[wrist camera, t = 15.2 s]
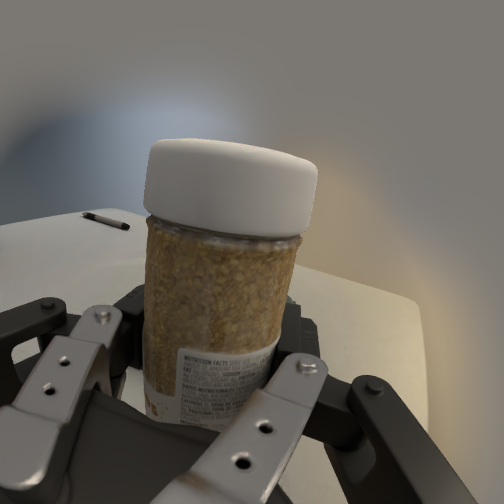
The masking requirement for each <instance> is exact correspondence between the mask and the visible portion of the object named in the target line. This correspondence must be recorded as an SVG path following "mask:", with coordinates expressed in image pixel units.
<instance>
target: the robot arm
mask: <svg viewBox="0 0 504 504" xmlns="http://www.w3.org/2000/svg"><path fill="white" fill-rule="evenodd" d="M144 289H145V284H143V285H140V286H137V287H136V288H135V289H133V290H132V291H131V292H129V293H128V294H127V295H126V297H125V296H124V297H123V298H122V299H120V300H119V301H118V302H117V303H115V304H114V305H113V306H109V305H96V306H92V307H90V308H88V309H87V310H86V311H85V312H84V313H83V315H82V316H81V315H74V314H68V313H67V311H66V304H65V302H64V301H63V300H61V299H59V298H54V297H47V298H42V299H38V300H36V301H33V302H30V303H27V304H24V305H21V306H18V307H16V308H13V309H10V310H7V311H4V312H2V313H0V504H293V502H292V501H291V500H290V499H289V497H288V496H287V495H286V494H285V492H284V491H283V490H282V488H281V487H280V486H279V484H278V481H279V479H280V478H281V476H282V474H283V472H284V470H285V468H286V466H287V464H288V462H289V460H290V458H291V456H292V454H293V452H294V450H295V448H296V446H297V444H298V442H299V440H300V438H301V435H305V436H307V437H310V438H313V439H315V440H318V441H321V442H323V444H324V448H325V451H326V453H327V455H328V458H329V460H330V462H331V464H332V467H333V469H334V471H335V474H336V476H337V478H338V481H339V483H340V485H341V487H342V490H343V492H344V494H345V497H346V499H347V501H348V503H349V504H478V503H477V502H476V500H475V499H474V497H473V496H472V494H471V493H470V492H469V490H468V489H467V487H466V486H465V485H464V483H463V482H462V480H461V479H460V478H459V476H458V475H457V473H456V472H455V471H454V469H453V468H452V467H451V465H450V464H449V462H448V461H447V460H446V458H445V457H444V456H443V454H442V453H441V451H440V450H439V449H438V447H437V446H436V445H435V443H434V442H433V441H432V440H431V438H430V437H429V435H428V434H427V433H426V431H425V430H424V429H423V427H422V426H421V425H420V423H419V422H418V421H417V419H416V418H415V417H414V415H413V414H412V413H411V411H410V410H409V409H408V407H407V406H406V405H405V403H404V402H403V401H402V400H401V398H400V397H399V396H398V394H397V393H396V392H395V390H394V389H393V388H392V387H391V385H390V384H389V383H387V382H386V381H385V380H383V379H381V378H379V377H376V376H371V375H362V376H358V377H356V378H355V379H354V380H353V382H352V384H349V383H346V382H343V381H340V380H338V379H336V378H334V377H332V376H330V375H329V374H328V367H327V365H326V363H325V362H324V361H323V360H321V359H320V350H319V341H318V335H317V334H318V332H317V326H316V325H315V323H314V322H313V321H312V320H311V319H308V318H303V317H301V306H300V305H297V304H292V303H287V302H286V303H285V309H284V313H283V317H282V323H281V334H280V338H279V341H278V345H277V349H276V353H275V357H274V361H273V365H272V369H271V372H270V376H269V380H268V384H267V385H266V387H265V388H264V389H263V390H262V389H260V388H257V389H256V390H255V391H254V392H253V393H252V395H251V396H250V397H249V398H248V400H247V401H246V402H245V404H244V405H243V406H242V407H241V409H240V410H239V411H238V412H237V414H236V415H235V416H234V417H233V419H232V420H231V421H230V422H229V424H228V425H227V426H226V427H225V429H224V430H223V431H222V432H218V431H214V430H210V429H206V428H202V427H198V426H192V425H181V424H172V423H164V422H158V421H154V420H152V419H150V418H149V417H147V416H146V415H144V414H142V413H141V412H139V411H138V410H136V409H135V408H133V407H131V406H130V405H128V404H127V403H125V402H124V401H121V396H122V392H123V388H124V384H125V381H126V369H127V368H128V366H130V367H133V368H136V369H139V370H140V369H141V367H142V366H143V355H142V332H143V325H144V320H145V319H144V299H145V296H144ZM35 337H37V340H38V344H39V348H40V353H38V354H36V355H34V356H32V357H29V358H27V359H25V360H23V361H21V362H19V363H16V364H14V363H13V360H12V357H11V353H12V350H13V348H14V347H15V346H16V345H18V344H21V343H23V342H25V341H28V340H30V339H32V338H35ZM370 443H371V444H370Z"/></svg>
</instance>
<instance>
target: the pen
mask: <svg viewBox="0 0 504 504" xmlns="http://www.w3.org/2000/svg"><path fill="white" fill-rule="evenodd" d="M82 214H83V215H84V217H87V218H90V219H93V220H97V221H100V222H103V223H106V224H109V225H113V226H116V227H119V228H122V229H129V228H130V226H129V225H128V224H126V223H123V222H119V221H116V220H112V219H108V218H105V217H101V216H98V215H95V214H91V213H88V212H85V213H82Z"/></svg>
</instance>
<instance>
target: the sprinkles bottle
mask: <svg viewBox="0 0 504 504" xmlns="http://www.w3.org/2000/svg"><path fill="white" fill-rule="evenodd" d="M317 177H318V171H317V168H316V166H315V165H314V164H313V163H311V162H310V161H308V160H305V159H302V158H298V157H295V156H292V155H290V154H287V153H284V152H280V151H276V150H272V149H267V148H262V147H256V146H251V145H246V144H240V143H233V142H225V141H217V140H207V139H191V138H184V139H162V140H159V141H157V142H155V143H154V144H153V146H152V147H151V150H150V154H149V160H148V167H147V173H146V181H145V191H144V202H143V203H144V207H145V209H146V210H147V211H148V212H149V213H151V216H149V217H148V218H146V223H147V226H148V238H147V248H146V253H147V257H146V265H145V271H146V273H145V289H144V296H145V299H144V319H145V320H144V325H143V332H142V355H143V376H144V394H145V409H146V416H147V417H149V418H150V419H152V420H154V421H158V422H164V423H172V424H181V425H192V426H198V427H202V428H206V429H210V430H214V431H218V432H222V431H223V430H224V429H225V427H226V426H227V425H228V424H229V422H230V421H231V420H232V419H233V417H234V416H235V415H236V414H237V412H238V411H239V410H240V409H241V407H242V406H243V405H244V404H245V402H246V401H247V400H248V398H249V397H250V396H251V395H252V393H253V392H254V391H255V390H256V389H257V388H260V389H262V390H263V389H264V388H265V387H266V385H267V384H268V380H269V376H270V372H271V369H272V365H273V361H274V357H275V353H276V349H277V345H278V341H279V338H280V334H281V323H282V317H283V313H284V309H285V303H286V300H287V293H288V289H289V285H290V281H291V277H292V274H293V268H294V262H295V257H296V252H297V249H298V247H299V246H300V244H301V243H302V241H303V238H302V237H301V236H300V233H303V232H305V231H306V230H307V229H308V227H309V223H310V218H311V213H312V208H313V204H314V197H315V191H316V184H317Z"/></svg>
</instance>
